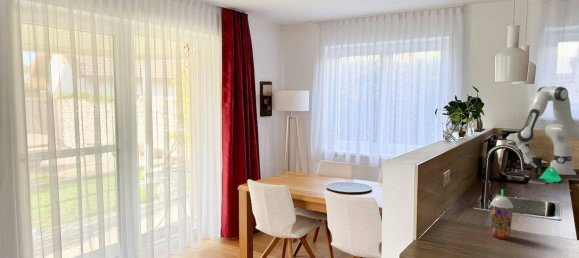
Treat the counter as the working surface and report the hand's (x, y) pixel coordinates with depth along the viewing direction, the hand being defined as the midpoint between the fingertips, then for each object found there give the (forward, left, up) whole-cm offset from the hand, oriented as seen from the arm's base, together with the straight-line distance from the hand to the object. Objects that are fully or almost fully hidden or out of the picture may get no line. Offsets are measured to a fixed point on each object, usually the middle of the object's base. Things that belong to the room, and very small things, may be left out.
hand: (537, 166), depth 286 cm
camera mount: (+8, +9, -9) cm, 15 cm away
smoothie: (+157, +19, -9) cm, 158 cm away
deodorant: (0, -1, -9) cm, 9 cm away
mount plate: (+19, +4, -8) cm, 21 cm away
